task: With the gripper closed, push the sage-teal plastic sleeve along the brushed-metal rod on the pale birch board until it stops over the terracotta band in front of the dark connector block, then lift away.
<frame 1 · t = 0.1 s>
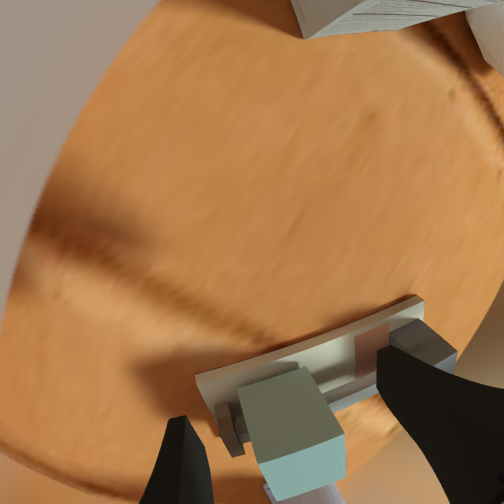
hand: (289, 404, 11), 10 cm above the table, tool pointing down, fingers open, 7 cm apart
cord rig: (322, 374, 24), on the table
sleeve: (292, 436, 19), point 5 cm above the table, slide at 0.0 cm
geometric sphere: (482, 27, 17), on the table
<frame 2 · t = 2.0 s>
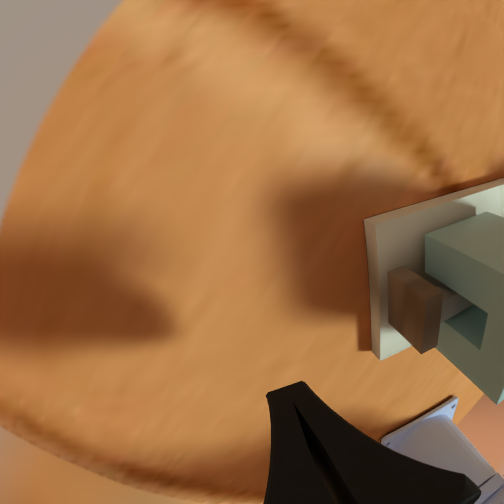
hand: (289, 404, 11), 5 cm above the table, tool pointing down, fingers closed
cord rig: (481, 245, 17), on the table
sleeve: (498, 299, 12), point 5 cm above the table, slide at 0.0 cm
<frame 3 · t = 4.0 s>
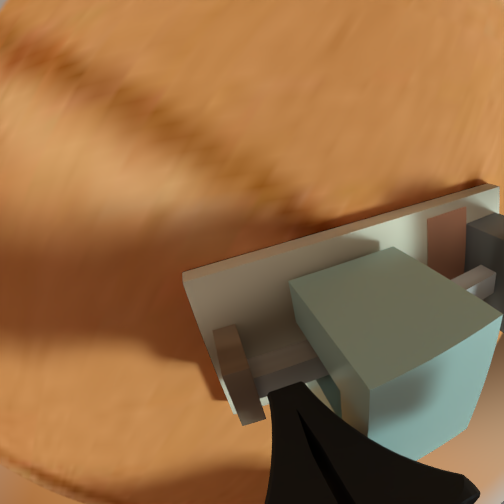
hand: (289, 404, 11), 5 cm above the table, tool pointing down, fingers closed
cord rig: (379, 289, 16), on the table
sleeve: (386, 362, 11), point 5 cm above the table, slide at 1.5 cm, touching gripper
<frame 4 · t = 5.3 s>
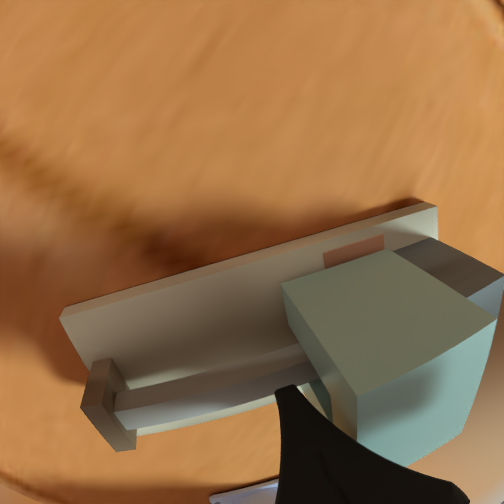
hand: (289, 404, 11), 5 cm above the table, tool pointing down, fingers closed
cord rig: (275, 327, 15), on the table
sleeve: (379, 365, 11), point 5 cm above the table, slide at 6.9 cm, touching gripper
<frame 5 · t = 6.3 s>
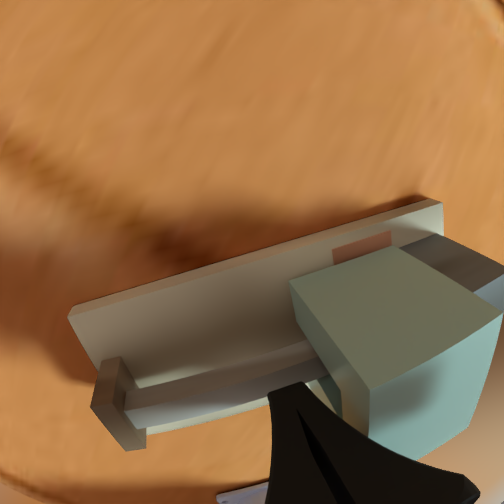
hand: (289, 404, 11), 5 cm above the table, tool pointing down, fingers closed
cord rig: (283, 324, 15), on the table
sleeve: (386, 361, 11), point 5 cm above the table, slide at 6.8 cm, touching gripper
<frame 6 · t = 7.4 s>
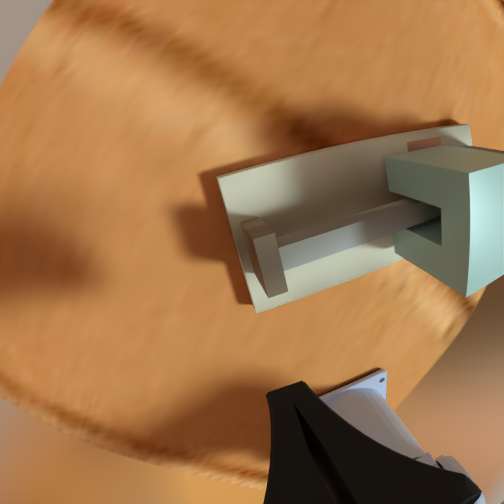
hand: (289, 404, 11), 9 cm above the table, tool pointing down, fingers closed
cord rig: (374, 202, 19), on the table
sleeve: (456, 209, 15), point 5 cm above the table, slide at 6.7 cm
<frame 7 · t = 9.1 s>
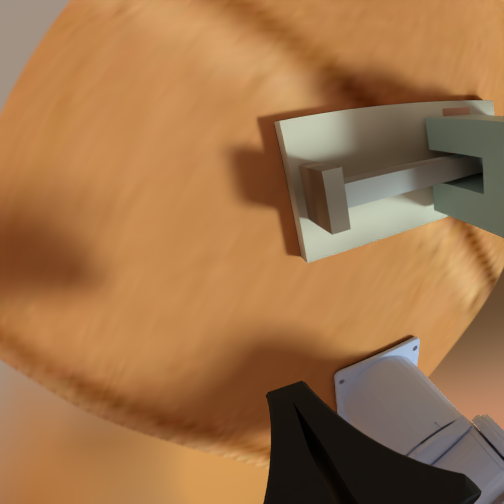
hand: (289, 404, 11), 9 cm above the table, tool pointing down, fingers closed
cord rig: (413, 162, 19), on the table
sleeve: (491, 166, 15), point 5 cm above the table, slide at 6.7 cm
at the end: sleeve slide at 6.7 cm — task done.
